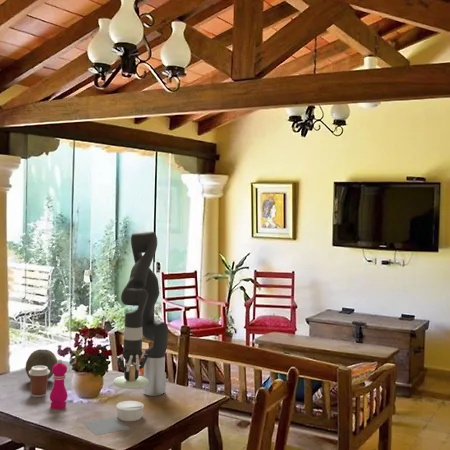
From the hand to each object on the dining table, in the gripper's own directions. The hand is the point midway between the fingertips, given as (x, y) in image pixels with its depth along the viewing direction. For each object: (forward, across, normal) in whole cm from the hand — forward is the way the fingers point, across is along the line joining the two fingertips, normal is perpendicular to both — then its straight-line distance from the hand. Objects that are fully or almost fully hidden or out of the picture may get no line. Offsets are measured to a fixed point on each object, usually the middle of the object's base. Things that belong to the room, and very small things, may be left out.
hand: (131, 379), depth 244 cm
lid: (+2, 0, 0) cm, 2 cm away
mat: (+16, +12, +5) cm, 20 cm away
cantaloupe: (+16, +19, -61) cm, 66 cm away
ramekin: (+16, 0, 0) cm, 16 cm away
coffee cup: (+16, +25, -43) cm, 52 cm away
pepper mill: (+16, +22, -24) cm, 36 cm away
